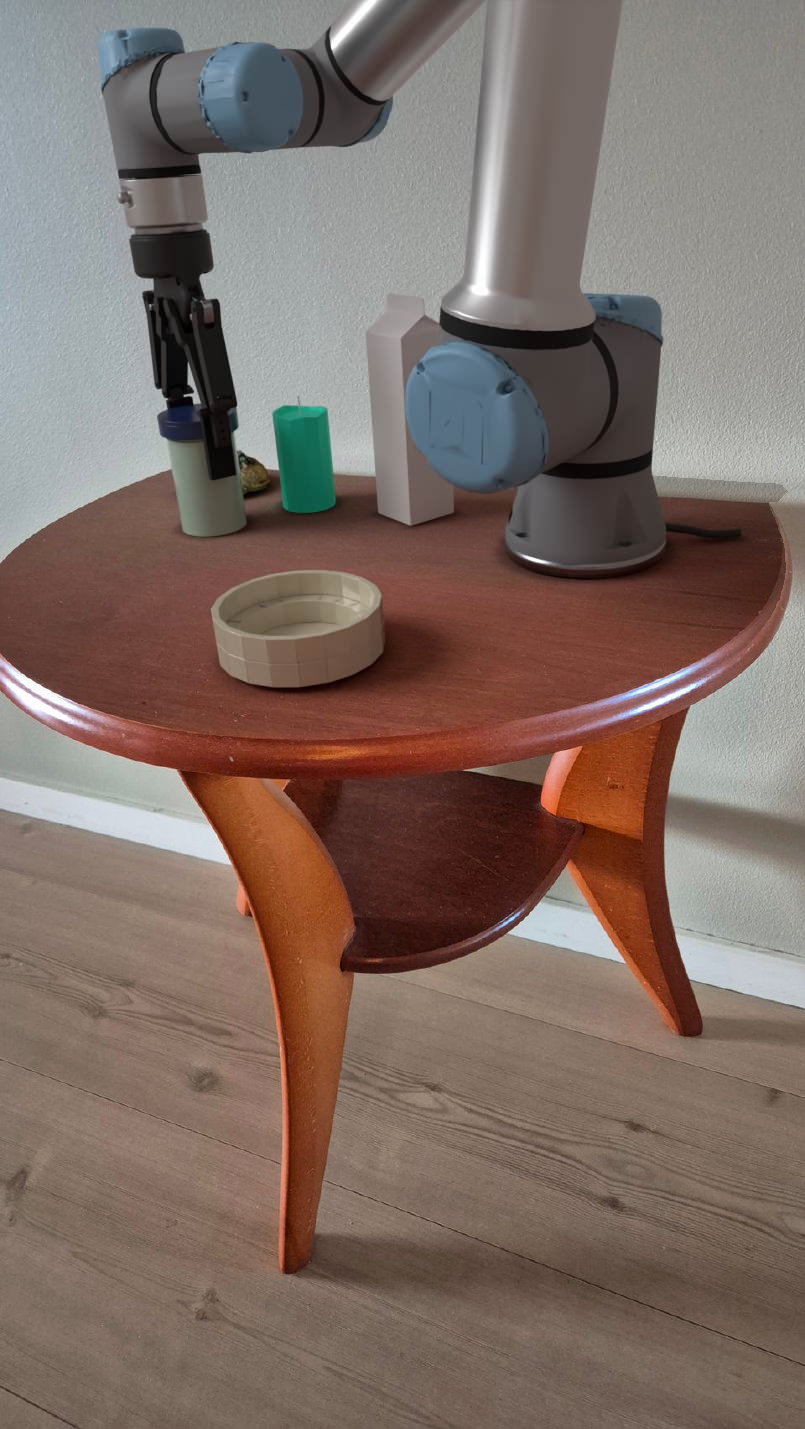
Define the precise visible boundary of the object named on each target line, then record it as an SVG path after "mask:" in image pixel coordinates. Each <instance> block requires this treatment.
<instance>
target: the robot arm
mask: <svg viewBox="0 0 805 1429" xmlns="http://www.w3.org/2000/svg"><path fill="white" fill-rule="evenodd" d="M485 2H486V12H485V24H484V26H485V27H484V36H483V46H482V61H481V70H480V82H479V83H480V84H479V94H478V106H477V115H476V116H477V117H476V128H475V131H476V132H475V140H474V151H473V163H472V175H471V187H470V188H471V189H470V199H469V210H468V221H467V232H466V233H467V234H466V245H465V257H464V266H463V267H464V268H463V269H464V270H463V274H462V277H461V278H460V280H459V281H458V282H457V283H456V284H455V285H454V286H452V288H451V289H449V290H448V292H447V293H445V294H444V295H443V296H442V298H441V300H440V307H439V308H440V309H439V310H440V311H439V322H438V323H439V333H438V346H435V347H432V348H431V349H429V350H428V351H427V353H426V354H425V355H424V356H423V358H422V359H421V360H420V362H418V363H417V364H416V365H415V366H414V368H413V370H412V372H411V374H410V376H409V379H408V382H407V386H406V393H405V411H406V418H407V423H408V426H409V430H410V433H411V436H412V438H413V440H414V443H415V445H416V447H417V449H418V450H419V452H420V453H423V454H424V455H425V456H426V458H427V460H428V464H429V465H430V467H431V468H432V469H433V470H434V471H435V472H436V473H437V474H438V475H439V476H440V477H442V478H443V479H444V480H446V481H447V482H449V483H450V484H452V485H453V487H455V488H458V489H460V490H463V491H465V492H469V493H473V494H479V495H480V494H481V495H489V494H496V493H500V492H503V491H506V490H509V489H511V488H518V489H517V492H516V495H515V498H514V501H513V503H512V506H511V508H510V509H509V513H508V517H507V519H506V520H507V521H506V525H505V533H504V553H505V554H506V556H507V558H509V559H510V561H512V562H513V563H515V564H517V565H518V566H520V567H523V568H525V569H527V570H530V571H533V572H537V573H540V574H545V575H550V576H556V577H565V578H582V579H583V578H584V579H585V578H587V579H589V578H591V579H592V578H594V579H595V578H606V577H617V576H622V575H628V574H631V573H635V572H639V571H641V570H644V569H647V568H650V567H651V566H653V565H655V564H656V563H658V562H659V561H660V560H661V559H662V558H663V557H664V556H665V553H666V547H667V546H666V545H667V532H668V533H675V534H684V535H689V536H690V535H691V536H696V537H701V538H706V539H719V540H720V539H731V538H732V539H733V538H741V537H742V529H741V528H731V529H721V530H720V529H717V530H716V529H708V528H707V529H706V528H701V527H697V526H692V525H686V524H685V525H684V524H677V523H669V522H665V518H664V515H663V511H662V507H661V502H660V499H659V495H658V490H657V487H656V482H655V479H654V474H653V469H652V468H653V455H654V454H653V452H654V443H655V442H654V441H655V427H656V418H657V416H656V415H657V403H658V393H659V392H658V391H659V380H660V366H661V356H662V355H661V354H662V347H663V345H664V336H663V333H662V329H663V328H662V321H663V312H662V308H661V305H660V304H659V302H658V300H656V299H655V298H654V297H652V296H648V295H639V294H638V295H637V294H621V293H620V294H617V293H592V292H591V293H589V292H583V291H582V288H581V278H582V271H583V265H584V258H585V252H586V245H587V238H588V231H589V226H590V225H589V224H590V219H591V212H592V205H593V198H594V191H595V185H596V180H597V172H598V166H599V160H600V159H599V158H600V153H601V145H602V139H603V132H604V125H605V119H606V113H607V108H608V99H609V93H610V87H611V81H612V80H611V79H612V75H613V74H612V73H613V67H614V61H615V52H616V48H617V40H618V35H619V33H618V32H619V29H620V28H619V27H620V23H621V22H620V21H621V14H622V7H623V0H351V1H350V2H349V4H347V6H346V7H345V9H344V10H343V11H342V12H341V13H340V14H339V16H338V17H337V18H336V19H335V21H334V22H332V24H330V26H328V28H327V29H326V30H325V32H324V33H323V34H322V35H321V36H320V37H319V38H318V39H317V41H316V42H315V43H314V44H313V45H312V46H310V47H308V48H277V47H276V46H275V45H274V44H271V43H268V42H253V41H251V42H249V41H248V42H241V41H234V42H228V43H226V44H225V45H223V46H222V45H221V46H217V47H210V48H205V49H199V50H194V51H187V52H186V51H185V50H186V49H185V45H184V41H183V38H182V36H181V34H180V33H179V32H178V31H176V30H175V29H172V28H165V27H136V28H134V27H133V28H128V29H127V28H126V29H114V30H111V31H108V32H104V34H102V35H101V36H100V38H99V39H98V42H97V55H98V64H99V72H100V80H101V82H100V85H101V87H100V91H101V95H102V96H103V101H104V106H105V111H106V117H107V122H108V128H109V134H110V139H111V143H112V145H111V146H112V150H113V155H114V161H115V166H116V170H117V175H118V179H119V180H118V181H119V186H120V192H118V193H117V194H116V198H117V202H118V203H119V204H120V205H123V211H124V215H125V222H126V225H127V226H128V228H130V229H134V234H131V235H130V238H129V239H128V241H129V247H130V253H131V258H132V265H133V271H134V274H135V275H136V276H137V277H139V278H140V279H148V280H152V279H153V280H152V281H153V289H149V290H143V291H142V292H141V294H142V295H141V298H142V301H143V305H144V310H145V314H146V319H147V320H146V322H147V330H148V339H149V348H150V355H151V365H152V374H153V384H154V387H155V388H156V390H161V394H162V396H163V398H164V399H165V403H166V408H167V409H166V410H168V409H171V408H174V407H179V406H184V405H190V404H195V403H194V397H193V396H191V394H192V395H193V394H194V393H195V390H194V389H193V387H192V386H191V385H190V384H189V382H188V381H189V369H190V372H191V375H192V376H191V377H192V379H193V382H194V386H195V388H196V392H197V395H198V398H199V402H200V403H201V405H202V409H200V410H198V411H197V412H196V413H197V415H198V417H200V422H201V428H202V435H203V441H204V448H205V454H206V461H207V467H208V474H209V479H210V480H212V481H213V480H218V479H222V478H226V477H231V476H235V475H236V468H235V461H234V454H233V446H232V439H231V432H230V425H229V418H228V411H230V409H231V408H237V407H238V399H237V395H236V389H235V383H234V380H233V376H232V374H233V373H232V370H231V364H230V360H229V355H228V349H227V344H226V340H225V336H224V330H223V325H222V314H221V313H222V310H221V303H220V300H219V299H218V298H209V299H207V298H206V296H205V293H204V289H203V286H202V282H201V278H200V277H201V276H202V275H204V274H205V275H206V274H208V273H209V274H210V273H211V272H212V271H213V270H214V266H215V264H214V263H215V262H214V256H213V250H212V249H213V248H212V240H211V235H210V232H208V229H206V228H204V226H203V224H205V223H207V221H208V219H209V214H208V208H207V201H206V193H205V186H204V180H203V179H204V178H203V174H202V168H201V164H200V158H199V157H200V156H199V155H202V154H228V153H229V154H231V153H243V154H252V153H264V152H268V151H273V150H286V149H287V150H289V149H299V148H321V147H336V148H348V147H352V146H355V145H357V144H361V143H367V142H370V141H372V140H374V139H375V138H377V137H378V136H379V135H381V133H382V132H383V131H384V130H385V128H386V126H387V125H388V120H389V118H390V114H391V113H392V111H393V110H392V109H393V105H394V95H395V94H396V93H397V92H398V91H399V90H400V89H401V88H402V87H403V86H404V84H406V83H407V82H408V81H409V79H410V78H412V77H413V75H415V73H417V72H418V71H419V69H421V67H423V65H425V64H426V62H427V61H429V59H431V57H432V56H433V55H434V54H436V52H438V50H439V49H440V48H441V47H442V46H443V45H444V44H445V43H446V42H447V41H448V40H449V39H451V37H452V36H454V34H455V33H456V32H457V31H458V30H459V29H460V28H461V27H462V26H463V25H464V24H465V23H466V22H467V21H468V20H469V19H470V18H471V17H472V16H473V15H474V14H475V13H476V12H477V11H478V10H479V8H481V7H482V6H483V5H484V4H485Z"/></svg>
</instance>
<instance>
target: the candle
mask: <svg viewBox="0 0 805 1429" xmlns="http://www.w3.org/2000/svg"><path fill="white" fill-rule="evenodd" d="M297 402H298V405H294V404H293V405H292V404H291V405H290V404H286V405H285V404H284V405H280V406H279V407H278V408H276V409H274V410H273V412H272V414H271V415H272V422H273V432H274V440H275V448H276V457H277V465H278V473H279V482H280V490H281V498H282V508H283V509H285V510H286V511H288V512H292V513H296V514H307V513H308V514H311V513H317V512H323V511H327V510H329V509H331V508H332V507H335V506H336V502H337V499H336V486H335V477H334V465H333V455H332V444H331V443H332V442H331V432H330V422H329V411H328V408H327V407H326V406H322V405H316V406H315V405H312V406H311V405H310V406H309V405H301V402H300V395H297Z"/></svg>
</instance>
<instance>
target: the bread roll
mask: <svg viewBox="0 0 805 1429" xmlns="http://www.w3.org/2000/svg"><path fill="white" fill-rule="evenodd" d="M237 454H238V462H239V469H240V476H241V483H242V490H243V496H245V495H246V494H248V493H249V492H257V491H260V490H264V489H266V488H267V486H268V484H269V483H270V482H271V481H270V478H271V477H270V475H269V473H268V470H267V467H265V465H264V464H263V463H262V462H260V461H259V460H258V459H257V458H255V457H251V456H249V455H248V454H247V455H246V454H245V452H243V450H240V449H238V450H237Z"/></svg>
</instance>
